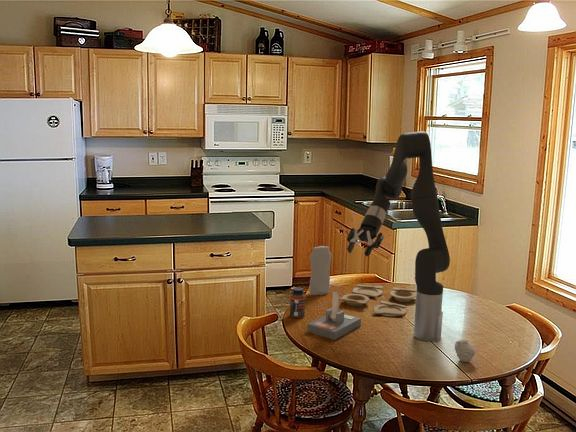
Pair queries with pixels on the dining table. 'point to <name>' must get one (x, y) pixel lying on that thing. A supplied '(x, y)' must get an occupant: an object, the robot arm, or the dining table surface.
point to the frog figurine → (464, 350)
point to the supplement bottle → (297, 303)
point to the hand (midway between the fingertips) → (357, 253)
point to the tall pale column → (320, 270)
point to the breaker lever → (335, 299)
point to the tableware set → (386, 307)
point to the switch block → (334, 325)
